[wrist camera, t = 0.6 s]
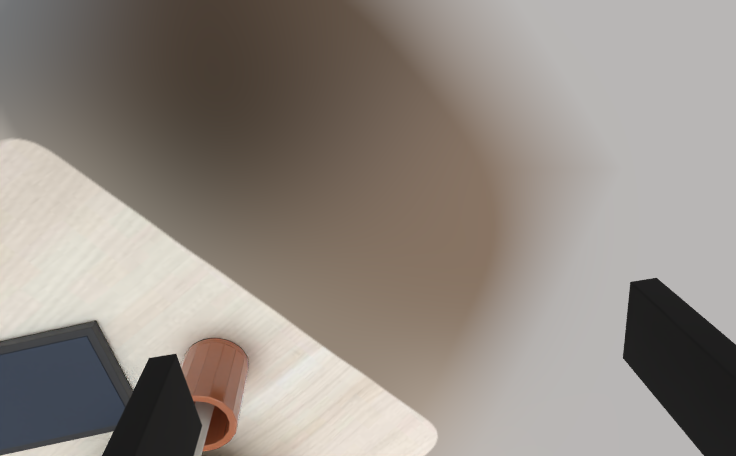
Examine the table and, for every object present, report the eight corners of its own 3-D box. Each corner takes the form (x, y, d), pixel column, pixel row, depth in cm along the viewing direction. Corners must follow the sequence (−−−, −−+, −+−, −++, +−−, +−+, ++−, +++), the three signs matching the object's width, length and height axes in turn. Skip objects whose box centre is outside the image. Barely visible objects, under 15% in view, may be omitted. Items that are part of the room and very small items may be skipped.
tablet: (-103, 363, 42) (-112, 371, 41) (96, 320, 42) (91, 327, 41) (-33, 455, 47) (-40, 464, 46) (146, 417, 47) (143, 425, 46)
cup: (174, 345, 44) (149, 404, 37) (237, 331, 44) (223, 389, 37) (196, 394, 46) (176, 457, 40) (256, 381, 46) (246, 442, 40)
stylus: (204, 363, 44) (145, 544, 30) (220, 360, 44) (170, 538, 30) (209, 376, 45) (155, 559, 30) (226, 373, 45) (179, 554, 30)
